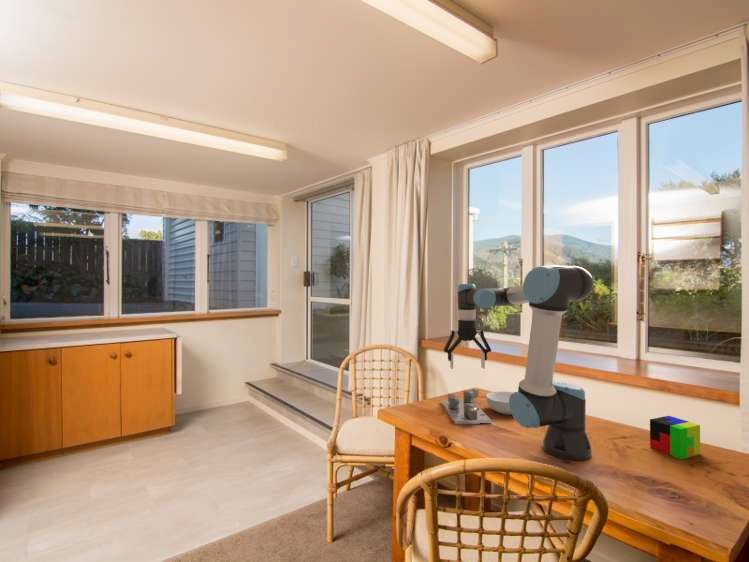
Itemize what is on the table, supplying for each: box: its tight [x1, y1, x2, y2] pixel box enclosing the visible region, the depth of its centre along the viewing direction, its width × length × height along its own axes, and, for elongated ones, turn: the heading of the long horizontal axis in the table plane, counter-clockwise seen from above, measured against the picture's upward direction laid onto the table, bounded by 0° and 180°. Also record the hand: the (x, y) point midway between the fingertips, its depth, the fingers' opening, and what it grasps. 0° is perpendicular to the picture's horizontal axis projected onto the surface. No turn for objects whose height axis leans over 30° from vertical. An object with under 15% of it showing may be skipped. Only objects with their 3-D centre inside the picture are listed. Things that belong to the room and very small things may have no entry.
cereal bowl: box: [486, 390, 514, 416], centre depth 176 cm, size 17×17×7 cm
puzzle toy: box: [649, 415, 701, 460], centre depth 135 cm, size 10×10×10 cm
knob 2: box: [463, 388, 479, 402], centre depth 189 cm, size 10×4×4 cm, turn 137°
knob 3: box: [464, 403, 477, 420], centre depth 165 cm, size 10×4×4 cm, turn 2°
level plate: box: [440, 399, 492, 425], centre depth 176 cm, size 28×15×2 cm, turn 2°
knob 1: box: [447, 392, 460, 409], centre depth 180 cm, size 10×4×4 cm, turn 2°
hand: (467, 368), depth 169 cm, fingers open, 13 cm apart
